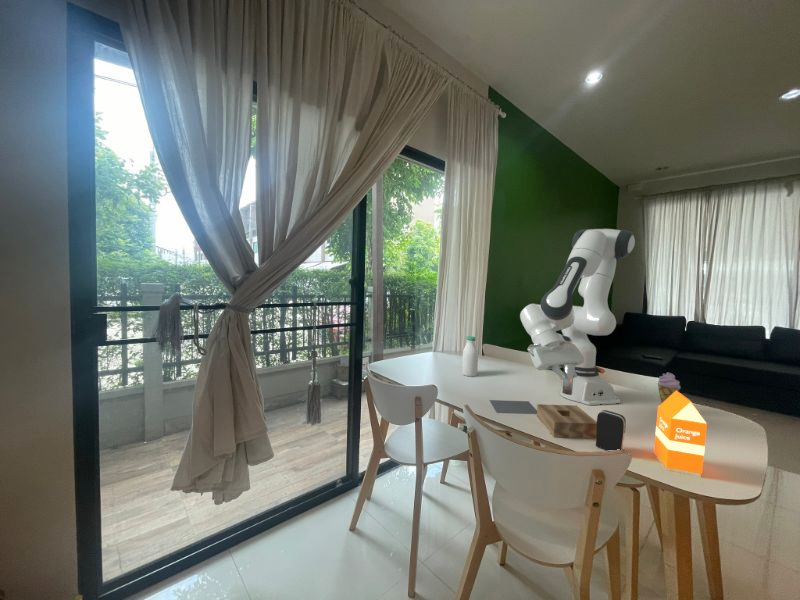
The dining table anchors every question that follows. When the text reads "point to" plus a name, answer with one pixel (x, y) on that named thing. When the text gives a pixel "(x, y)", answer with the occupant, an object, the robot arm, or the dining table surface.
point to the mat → (513, 407)
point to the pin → (568, 379)
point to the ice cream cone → (667, 386)
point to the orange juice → (680, 434)
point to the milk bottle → (470, 358)
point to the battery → (610, 430)
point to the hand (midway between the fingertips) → (569, 378)
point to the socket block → (567, 421)
